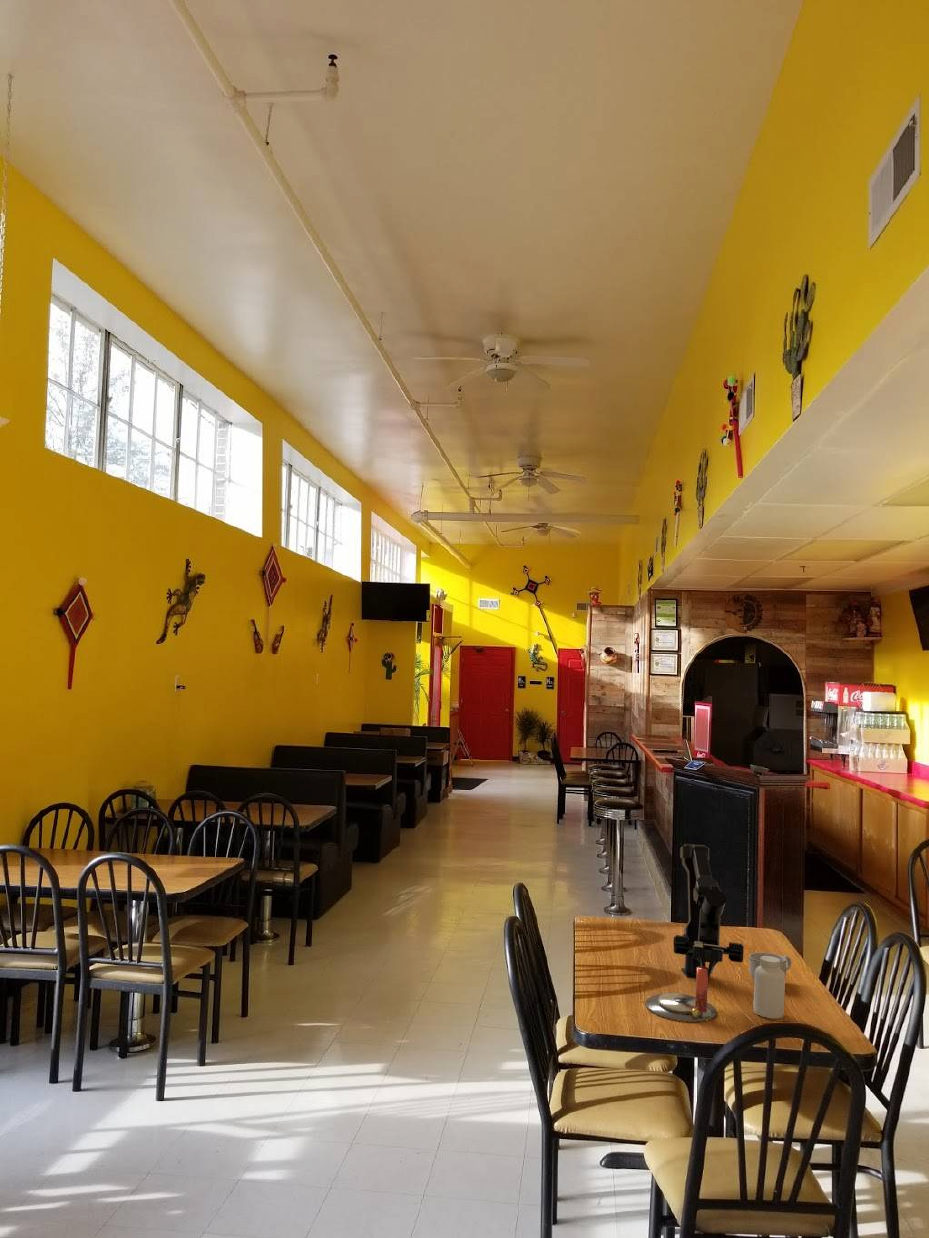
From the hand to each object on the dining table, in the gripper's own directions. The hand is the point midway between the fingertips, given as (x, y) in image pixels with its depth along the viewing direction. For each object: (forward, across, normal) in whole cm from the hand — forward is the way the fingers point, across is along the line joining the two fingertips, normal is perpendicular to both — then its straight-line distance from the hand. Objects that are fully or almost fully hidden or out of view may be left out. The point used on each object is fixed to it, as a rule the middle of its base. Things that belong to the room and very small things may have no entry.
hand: (706, 977), depth 245 cm
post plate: (+5, +7, -9) cm, 13 cm away
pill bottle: (+1, -16, -14) cm, 22 cm away
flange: (+5, +6, -8) cm, 11 cm away
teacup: (-18, -18, -33) cm, 42 cm away
